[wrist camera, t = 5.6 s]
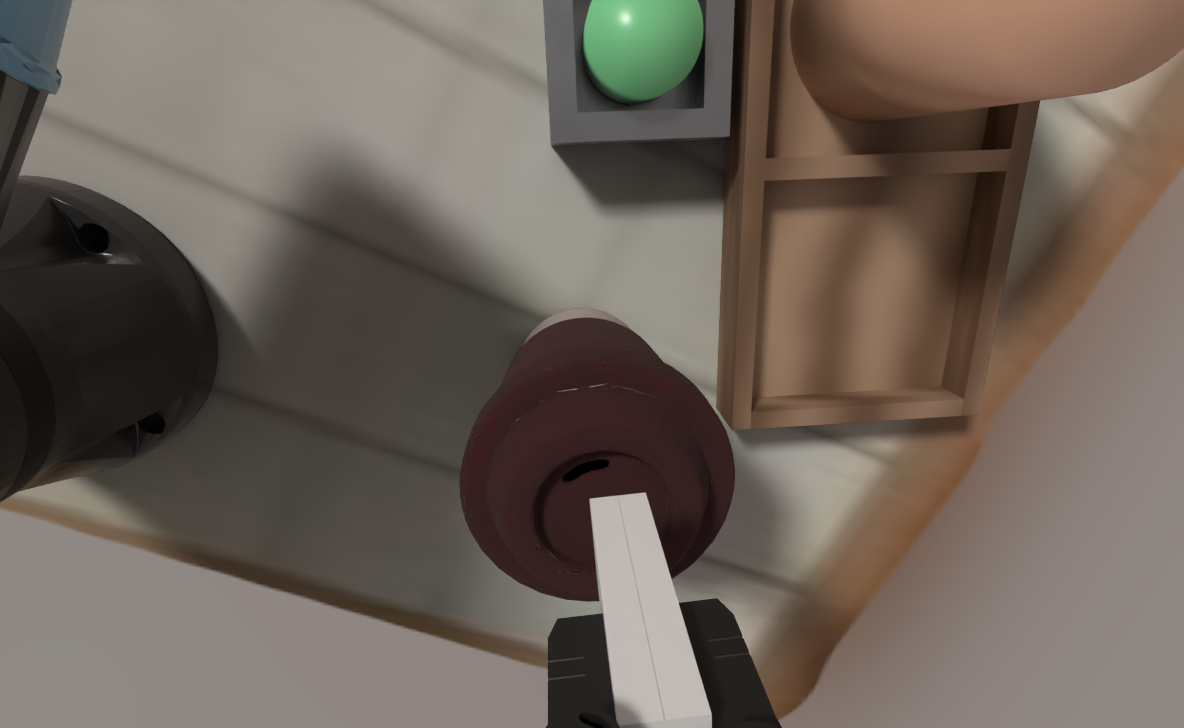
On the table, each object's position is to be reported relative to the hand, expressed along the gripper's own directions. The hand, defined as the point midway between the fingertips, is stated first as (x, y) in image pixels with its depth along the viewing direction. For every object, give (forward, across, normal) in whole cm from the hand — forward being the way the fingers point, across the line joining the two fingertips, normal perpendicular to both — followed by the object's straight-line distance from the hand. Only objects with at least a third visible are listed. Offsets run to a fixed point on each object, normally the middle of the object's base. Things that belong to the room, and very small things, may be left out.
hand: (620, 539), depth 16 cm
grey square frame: (+18, +4, +14) cm, 23 cm away
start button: (+16, +3, +14) cm, 22 cm away
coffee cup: (+19, 0, -2) cm, 19 cm away
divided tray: (+18, +15, +8) cm, 25 cm away
